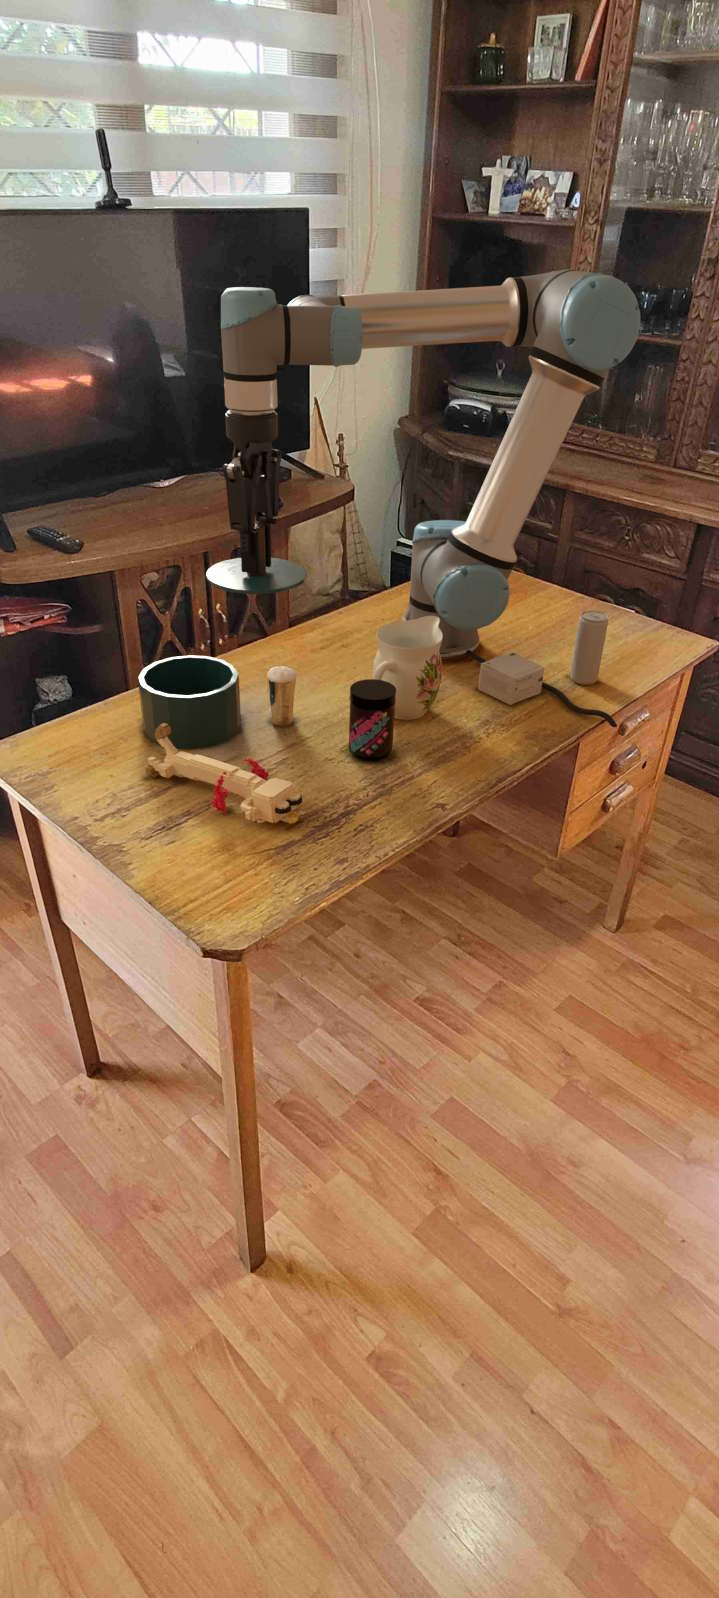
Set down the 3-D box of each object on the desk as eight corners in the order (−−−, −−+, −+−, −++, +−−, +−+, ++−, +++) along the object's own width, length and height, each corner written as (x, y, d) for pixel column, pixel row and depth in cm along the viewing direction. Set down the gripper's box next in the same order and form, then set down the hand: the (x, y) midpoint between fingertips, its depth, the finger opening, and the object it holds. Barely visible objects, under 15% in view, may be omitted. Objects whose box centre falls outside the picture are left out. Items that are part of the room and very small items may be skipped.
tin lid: (323, 573, 151) (324, 520, 146) (275, 605, 139) (273, 547, 134) (240, 557, 156) (238, 505, 151) (186, 586, 144) (182, 530, 139)
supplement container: (338, 749, 140) (340, 687, 134) (372, 736, 144) (375, 674, 138) (368, 767, 136) (371, 704, 130) (402, 753, 140) (406, 691, 134)
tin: (257, 716, 148) (256, 667, 143) (205, 757, 137) (201, 706, 132) (180, 696, 153) (176, 648, 149) (124, 733, 142) (118, 683, 137)
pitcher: (342, 723, 147) (344, 643, 139) (402, 684, 160) (406, 608, 152) (401, 744, 142) (406, 661, 134) (458, 701, 155) (465, 624, 147)
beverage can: (585, 688, 160) (597, 623, 154) (563, 679, 163) (574, 614, 157) (602, 681, 163) (614, 616, 157) (580, 671, 166) (591, 608, 160)
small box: (510, 706, 154) (514, 678, 151) (476, 689, 159) (479, 661, 156) (541, 694, 158) (546, 666, 155) (507, 678, 163) (511, 650, 160)
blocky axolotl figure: (137, 791, 131) (276, 840, 118) (127, 735, 126) (270, 780, 114) (186, 762, 138) (322, 806, 125) (178, 708, 133) (318, 748, 121)
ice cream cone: (297, 730, 145) (297, 671, 139) (264, 726, 145) (262, 667, 140) (304, 717, 148) (304, 659, 143) (272, 713, 149) (270, 655, 144)
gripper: (257, 398, 141) (262, 550, 154) (197, 415, 129) (208, 579, 142) (301, 403, 138) (301, 558, 151) (244, 422, 126) (250, 588, 139)
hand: (256, 568), depth 146 cm, fingers closed on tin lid, 3 cm apart
